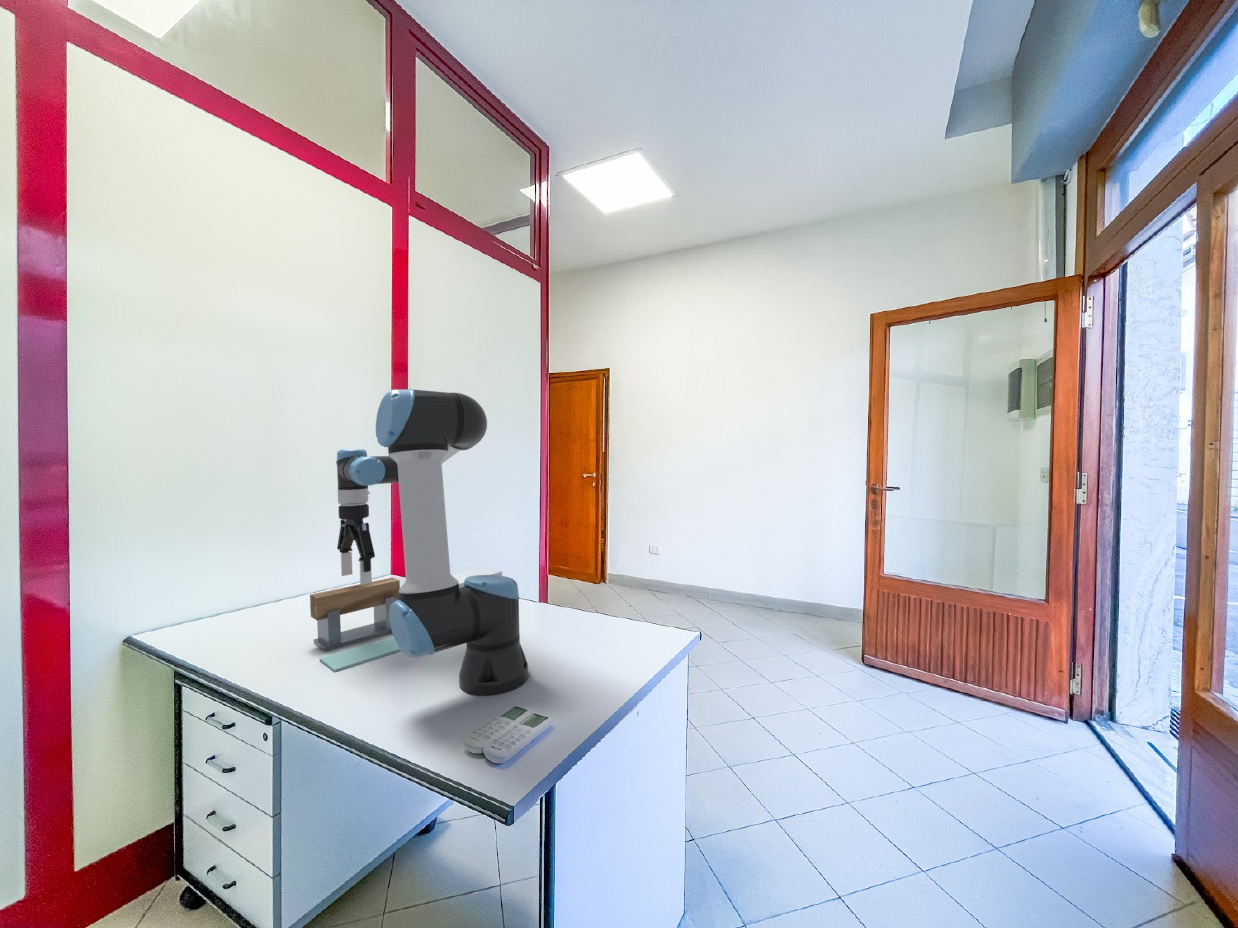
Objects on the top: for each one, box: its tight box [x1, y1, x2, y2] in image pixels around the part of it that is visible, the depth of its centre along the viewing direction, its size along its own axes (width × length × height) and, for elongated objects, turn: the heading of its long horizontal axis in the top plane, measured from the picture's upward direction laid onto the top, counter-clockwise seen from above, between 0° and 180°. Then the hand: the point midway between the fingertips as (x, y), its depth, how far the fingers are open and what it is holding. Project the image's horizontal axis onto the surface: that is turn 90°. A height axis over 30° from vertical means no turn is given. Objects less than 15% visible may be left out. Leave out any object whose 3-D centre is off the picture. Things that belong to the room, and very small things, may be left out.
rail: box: [309, 577, 401, 622], centre depth 140 cm, size 5×22×6 cm, turn 138°
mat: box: [319, 636, 402, 673], centre depth 129 cm, size 10×24×1 cm, turn 138°
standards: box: [312, 596, 396, 652], centre depth 140 cm, size 9×20×10 cm, turn 138°
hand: (356, 579), depth 140 cm, fingers open, 13 cm apart
